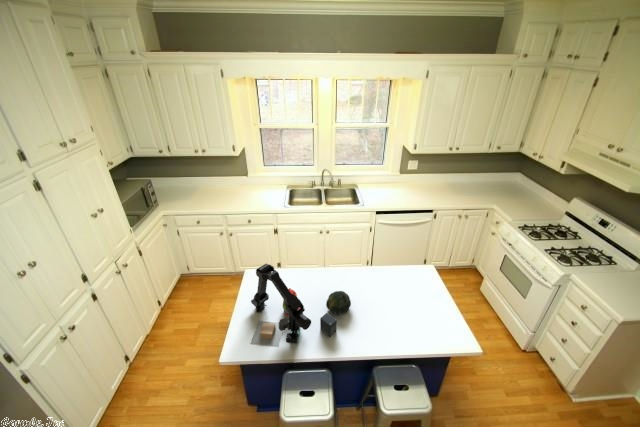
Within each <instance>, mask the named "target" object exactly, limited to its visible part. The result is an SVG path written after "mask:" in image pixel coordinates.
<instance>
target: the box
mask: <svg viewBox="0 0 640 427" xmlns="http://www.w3.org/2000/svg"><path fill="white" fill-rule="evenodd" d="M319 320H320V321H319V323H320V324H319V327H320V328H319V330H320V332H322V333H323V334H324V335H326V337H328V338H330V339H331V338H332V337H333V336H334V335H335V334H336V333H337V323H338V320H337V319H336V318H335V317H333V316H332V315H331V314H329V313H328V312H326V313H324V315H322V316H321V317H320V318H319Z"/></svg>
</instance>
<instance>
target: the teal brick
mask: <svg viewBox="0 0 640 427" xmlns="http://www.w3.org/2000/svg"><path fill="white" fill-rule="evenodd" d="M289 332H290V333H292V331H291V330H290V331H289ZM297 333H298V334H299V338H298V343H299V342H300V339H301V335H302V334H301V327H300V328H299V330H297Z"/></svg>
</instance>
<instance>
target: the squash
mask: <svg viewBox="0 0 640 427" xmlns="http://www.w3.org/2000/svg"><path fill="white" fill-rule="evenodd" d="M325 303H326V305H325V306H326V308H327V309H328V311H329V313H331V314H333V315H337V316H339V315H344V314H347V313H349V311H350V307H351V305H352V302H351V298H350V296H349V295H348V293H346V292H345V291H344V290H337V291H333V292H331V293H330V294H329V295H328V298H327V299H326V302H325Z"/></svg>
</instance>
